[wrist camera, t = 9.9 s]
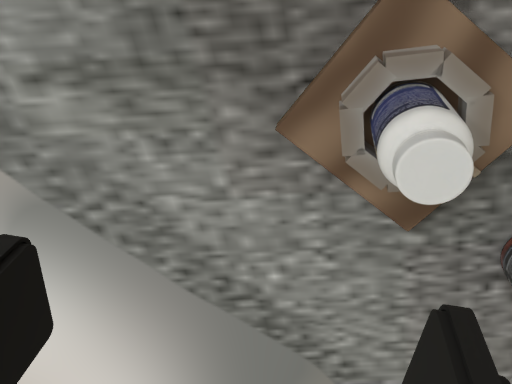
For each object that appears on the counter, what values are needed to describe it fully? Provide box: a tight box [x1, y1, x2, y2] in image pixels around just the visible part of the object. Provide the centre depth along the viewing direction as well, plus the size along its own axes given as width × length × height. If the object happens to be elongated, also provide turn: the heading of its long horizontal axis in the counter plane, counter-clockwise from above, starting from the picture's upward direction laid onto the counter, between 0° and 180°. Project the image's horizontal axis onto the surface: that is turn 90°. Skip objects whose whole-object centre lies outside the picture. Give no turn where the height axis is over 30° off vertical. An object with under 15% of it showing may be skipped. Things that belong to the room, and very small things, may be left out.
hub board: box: [275, 0, 512, 231], centre depth 31 cm, size 14×14×4 cm
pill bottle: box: [370, 80, 474, 205], centre depth 27 cm, size 5×5×10 cm
